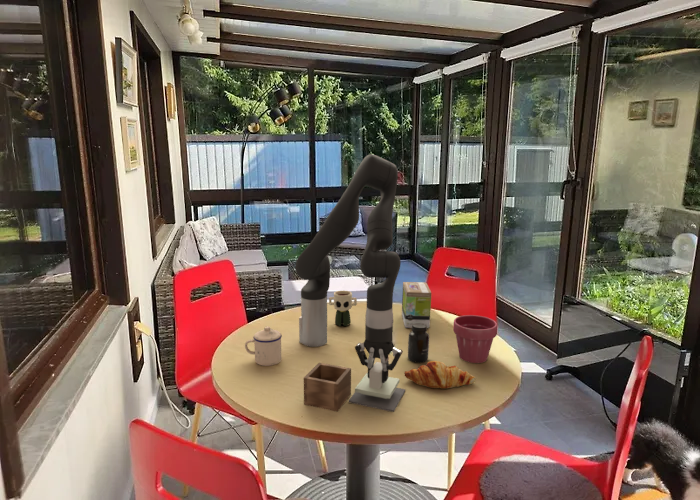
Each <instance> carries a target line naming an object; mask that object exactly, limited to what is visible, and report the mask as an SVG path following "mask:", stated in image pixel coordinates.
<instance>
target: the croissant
mask: <svg viewBox="0 0 700 500" xmlns="http://www.w3.org/2000/svg"><path fill="white" fill-rule="evenodd" d="M404 377H405V378H406V379H407V380H410V381H411V382H414V383H415V384H417V385H418V386H419V385H420V386H424V387H427V388H432V389H452V388H455V387H456V388H458V387H463V386H464V385H467V386H469V385H472V384H474V383H476V379H477V378H476V377H475V376H473V375H472V374H471V373H469V372H468V371H463V370H461V369H460V368H459V367H457V365H451V366H450V365H449V366H447V365H446V364H445V363H444V362H442V361H438V360H430V361H428V362H427V363H426V365H425V364H424V365H420V366H418V368H417V369H416V368H412V369H410V370H407V371H404Z"/></svg>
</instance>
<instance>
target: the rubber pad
mask: <svg viewBox="0 0 700 500" xmlns="http://www.w3.org/2000/svg"><path fill="white" fill-rule="evenodd" d="M405 392H406V388H401V387H396V389H395V391H394V392H393V394H392V396H391V397H390V399H389V398H387V399H385V398H379V397H374V396H369V395H364V394H361V393H358V392H355V391H354V393H353V394H351V397H349V398H348V403H349V404H354V405H358V406H363V407H369V408H372V409H378V410H383V411H387V412H391V413H394V412H395V411H396V409H397V407H398V406H399V403H400V402H401V400H402V398H403V396H404V394H405Z"/></svg>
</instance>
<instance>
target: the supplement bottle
mask: <svg viewBox="0 0 700 500" xmlns="http://www.w3.org/2000/svg"><path fill="white" fill-rule="evenodd" d="M427 329H428V328H427V325H426V324H424V323H414V324H412V328H411V331H410V332H409V333H408V340H407V341H408V342H407V343H408V345H407V359H408V360H409V361H410V362H412V363H417V364H421V363H422V364H423V363H425V362H427V361H428V360H429V352H430V351H429V350H430V349H429V348H430V334H429V333H428V332H427Z"/></svg>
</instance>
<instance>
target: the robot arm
mask: <svg viewBox="0 0 700 500" xmlns="http://www.w3.org/2000/svg"><path fill="white" fill-rule="evenodd" d="M398 176H399V172H398V167H397V165H396V164H395V163H392V162H391V161H389V160H387V159H385V158H382V157H380V156H379V155H375V154H371V153H370V154H368V155H366V156H365V157H364V158H363V159H362V161H361V162H360V163H359V166H358V167H357V168H356V170H355V172H354V175H353V176H352V178H351V180H350V182H349V184H348V185H347V188H346V189H345V191H344V192H343V194H342V195H341V197H340V199H338V201H337V203H336V204H335V206H334V207H333V208H332V209H331V211H330V213H329V214H328V216H327V217H326V219H325V221H324V223H323V224H322V226H320V228H319V230H318V231H317V233H316V234H315V236H314V237H313V239H312V240H311V241H310V243H309V244H308V245H307V247H305V249H304V250H303V251H302V253H301V254H300V255H299V256H298V257H297V258H296V262H295V267H294V269H295V273H296V275H297V277H299V279H301V280H304V281H305V280H306V281H307V282H306V283H305V285H303V287H302V288H301V290H300V306H301V307H300V311H301V314H300V315H301V316H299V318H298V327H299V329H298V330H299V331H298V332H299V333H298V334H299V335H298V336H299V337H298V338H299V340H298V343H300V344H303V346H305V347H313V348H315V347H322V346H325V345H326V344H327V343H328V291H329V288H330V283H331V281H330V280H331V279H330V277H331V262H330V258H329V256H328V255H329V254H330V253H331V252H332V251H333V250H335V249H336V248H337V247H338V246H340V245H341V244H343V243H344V242H345V241H346V240H347V239H348V238H349V237H350V235H351V234H352V232H353V231H354V230H355V228H356V226H357V225H358V223H359V222H360V220H359V219H360V205H359V203H360V201H359V200H360V195H361V193H362V192H363V190H364V188H365V187H366V186H367V187H369V188H371V189H374V190H375V191H376V190H377V191H379V192H380V200H379V201H378V203H377V204H376V205H375V207H373V208H372V209H371V212H370V213H369V215H368V218H367V221H366V222H367V223H366V226H367V227H366V228H367V231H366V233H367V235H366V245H365V248H364V251H363V254H362V256H361V261H360V265H359V266H360V271H361V273H362V274H363V276H364V277H366V278H376V279H378V278H379V279H380V278H384V280H383V282H380V283H375V284H372V285H369V286H368V288H367V290H366V308H365V310H366V311H365V320H364V321H365V322H364V323H365V325H364V326H365V328H364V329H365V332H364V334H365V336H364V337H365V339H364V342H358V343H357V344H356V345H355V346H354V350H355V352H356V354H357V357H358V359H359V362H360V364H361V365H362V366H365V367H366V368H367V373H368V378H369V373H370V370H371V368H372V367H373V366H374V364H375V361H376V359H380V363H381V364H382V369H383V371H382V383H385V381H387V379H388V377H389V371H393V370H394V369H395V367H396V365H397V364H398V362H399V360H400V358H401V356H402V355H403V352H404V351H403V350H402V349H398V348H396V347H395V344H394V342H393V335H394V333H393V332H394V313H393V309H394V308H393V306H394V305H393V304H394V303H393V301H394V300H393V299H394V297H393V296H394V289H395V284H396V281H397V277H398V275H399V272H400V269H401V263H402V262H401V258H400V256H399V254H398V253H397V252H395V251H392V250H389V251H388V250H387V251H386V249H388V248H390V247H391V246H392V245H393V241H394V240H393V239H394V236H393V235H394V234H393V233H394V232H393V212H394V206H395V199H396V194H397V193H396V192H397V186H398V185H397V184H398V178H399V177H398ZM365 350H366V351H367V353H368V356H367V354H366V351H365ZM391 353H392V356H393V359H392V361H391V363H390V362H389V359H390V357H389V355H390V354H391Z"/></svg>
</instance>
